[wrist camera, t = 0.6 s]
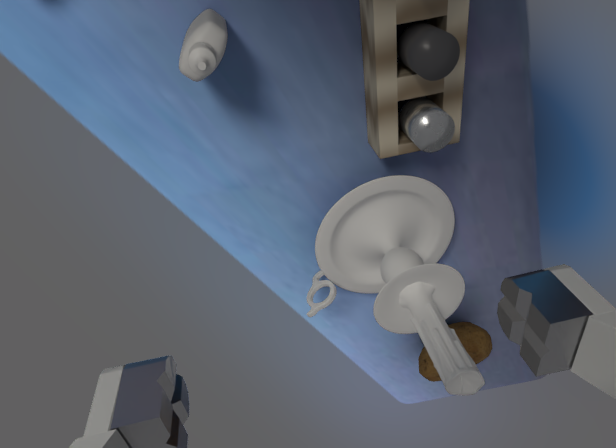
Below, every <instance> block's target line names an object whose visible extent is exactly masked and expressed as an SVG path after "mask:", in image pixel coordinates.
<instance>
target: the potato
mask: <svg viewBox="0 0 616 448" xmlns="http://www.w3.org/2000/svg"><path fill="white" fill-rule="evenodd" d="M448 327H449V328H451V329H454V330H455V333H456V335H457V336H458V338H459V340H460V342H461V343H462V345H463V347H464V348H465V350H466V352H467V353H468V354H469V355H470V357H471V358H472V359H473V361H474V362H475V364H477V363H479V362H481V361H483V360H484V359H485V358H487V357H488V356H489V354H490V352H491V350H492V342H491V337H490V335H489V334H488V333H487V331H486V330H484V329H482V328H481V327H479V326H477V325H475V324H472V323H470V322H458V323H453V324H450V325H448ZM418 359H419V373H420V374H421V375H422V376H423V377H425V378H426V379H428V380H429V381H433V382H434V381H441V378H440V376H439V374H438V372H437V370H436V368H435V367H434V366H433V365H434V364H433V362H432V360H431V358H430V356H429V354H428V352H427V350H426V348H425V346H424V347H423V349H422V351H421V354H420V356H419V358H418Z"/></svg>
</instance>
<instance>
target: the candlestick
mask: <svg viewBox="0 0 616 448" xmlns="http://www.w3.org/2000/svg"><path fill="white" fill-rule="evenodd" d="M454 225H455V217H454V210H453V207H452V204H451V202H450V200H449V198H448V197H447V195H446V194H445V193H444V192H443V191H442V190H441V189H440V188H439V187H438V186H436V185H435V184H433V183H431V182H429V181H427V180H425V179H422V178H419V177H414V176H406V175H396V176H387V177H382V178H378V179H375V180H372V181H369V182H367V183H364V184H362V185H360V186H358V187H356V188H355V189H353V190H351V191H350V192H348V193H347V194H346V195H344V196H343V197H342V198H341V199H340V200H339V201H337V202H336V203H335V204H334V206H333V207H332V208H331V209H330V210H329V212H328V213H327V214H326V216H325V217H324V219H323V221H322V223H321V225H320V227H319V230H318V233H317V236H316V242H315V254H316V259H317V262H318V265H319V267H320V269H321V270H320V271H319V272H318V273H316V274H315V275H314V277H313V284H312V287H311V288H310V290H309V292H308V294H307V302H308V304H309V305H310V306H311V310H310V311H309V312H308V313H307V315H308V317H312V316H314V315H315V314H316V313H317V312H318V311H319V310H321V309H324V308H326V307H327V306H329V305H330V304H331V303H332V302H333V300H334V299H335V296H336V287H335V285H337V286H339V287H341V288H343V289H346V290H349V291H352V292H357V293H379V294H378V295H377V297H376V300H375V303H374V316H375V319H376V321H377V322H378V324H379V325H380V326H381V327H383V328H384V329H386V330H388V331H390V332H393V333H398V334H412V333H418V334H419V336H420V338H421V340H422V342H423V344H424V346H425V348H426V350H427V352H428V354H429V356H430V358H431V360H432V362H433V364H434V365H433V366H434V367H435V368H436V370H437V372H438V374H439V376H440V378H441V380H442V382H443V384H444V386H445V389H446V391H447V392H448V393H449V394H452V395H473V394H475V393H477V392H478V391H479V389H480V388H481V387H482V386H483V385H484V384H485V381H484V379H483V377H482V375H481V373H480V372H479V370H478V368H477V366H476V364H475V362H474V361H473V359H472V358H471V357H470V355H469V354H468V353H467V352H466V350H465V348H464V347H463V345H462V343H461V342H460V340H459V338H458V336H457V335H456V333H455V330H454V329H451V328H449V327H448V325H447V323H446V322H445V320H446V319H447V318H448V317H449V316H451V315H452V314H453V313H454V311H455V310H456V309H457V308H458V306H459V305H460V303H461V301H462V299H463V296H464V293H465V283H464V280H463V277H462V276H461V274H460V273H459V272H458V271H457V270H455V269H454V268H452V267H450V266H447V265H444V264H436V263H437V262H438V261H439V259H440V258H441V257H442V255H443V254H444V253H445V251H446V249H447V247H448V246H449V243H450V241H451V238H452V235H453V231H454ZM323 275H325V276H326V277H327V278H328V279H329V280H330V281H329V280H322V281H319V279H320V278H321V277H322V276H323ZM333 283H334V284H335V285H334V284H333ZM325 286H328V287H330V294H329V296H328V297H327V298H326V299H325V300H324V301H322V302H320V303H313V296H314V294H315V293H316V291H317V290H319V289H320V288H322V287H325Z"/></svg>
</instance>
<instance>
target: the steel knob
mask: <svg viewBox="0 0 616 448" xmlns="http://www.w3.org/2000/svg"><path fill="white" fill-rule="evenodd" d="M398 122H399V126H400V128H401V129H402V131H403V132H404V133H405V134H406V135H407V136H408V137H409V138H410V139H411V140H412V141H413V143H414V144H415V145H416V146H417V147H418V148H419V149H420V150H422V151H424V152H435V151H438V150H440V149H442V148H444V147H445V146H446V145H447V144H448V143H449V142H450V141H451V139H452V137H453V135H454V132H455V123H454V120H453V119H452V117H451V116H450V115H449V114H447V113H446V112H445V111H444V110H442V109H441V108H440V107H439V106H437V105H436V104H435V103H434V102H432V101H431V100H430V99H428V98H425V97H417V98H413V99H411V100H410V101H408V102H407V103H406V104H405V105H404V106H403V107H402V109H401V111H400V113H399V117H398Z"/></svg>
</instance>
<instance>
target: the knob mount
mask: <svg viewBox="0 0 616 448" xmlns="http://www.w3.org/2000/svg"><path fill="white" fill-rule="evenodd" d="M469 1H470V0H359V2H360V18H361V34H362V51H363V67H364V83H365V100H366V116H367V132H368V143H369V144H370V145H371V147H372V148H373V150H374V151H375V152H376V154H377V155H378V157H379V158H380V159H382V158H387V157H392V156H396V155H401V154H406V153H411V152H415V151H420V149H419V148H418V147H417V146H416V145H415V144H414V143H413V141H412V140H411V139H410V138H409V137H408V136H407V135H406V134H405V133H404V132H403V131H402V129H401V128H400V126H398V101H402V100H407V99H412V98H417V97H422V96H426V98H428V99H430V100H431V101H432V102H434V103H435V104H436V105H437V106H439V107H440V108H441V109H442V110H444V111H445V112H446V113H447V114H449V115H450V116H451V117H452V119H453V120H454V123H455V132H454V135H453V137H452V139H451V141H450V142H449V143H448V144H453V143H458V142H459V139H460V125H461V111H462V98H463V84H464V70H465V56H466V42H467V29H468V15H469ZM424 19H427V23H429V24H431V25H433V26H435V27H437V28H439V29H442V30H444V31H446V32H448V33H450V34H452V35H453V36H454V37H455V38H456V39H457V41H458V43H459V46H460V56H459V60H458V62H457V64H456V66H455V68H454V69H453V70H452V72H451V73H450V74H448V75H447V76H446V77H444V78H442V79H440V80H436V81H429V80H426V79H424V78H422V77H421V76H419V75H418V74H417V73H415V72H414V71H413V70H411V69H410V68H408V67H407V66H406V65H404V64H403V63H402V62H400V63H397V36H396V25H398V24H403V23H409V22H414V21H419V20H424ZM448 144H447V145H448Z"/></svg>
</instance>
